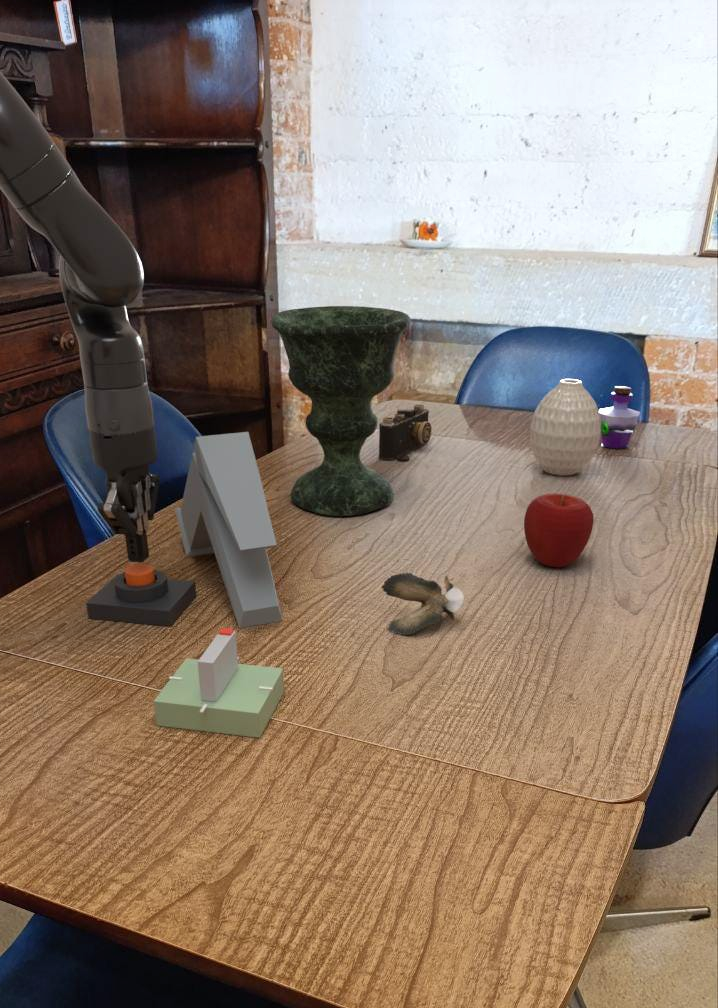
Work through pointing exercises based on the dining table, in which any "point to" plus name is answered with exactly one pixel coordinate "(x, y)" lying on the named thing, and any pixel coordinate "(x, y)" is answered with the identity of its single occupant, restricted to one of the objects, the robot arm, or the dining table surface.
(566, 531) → the apple
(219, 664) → the grey flat block
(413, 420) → the camera
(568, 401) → the vase
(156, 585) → the button box
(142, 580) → the button
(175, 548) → the dining table surface
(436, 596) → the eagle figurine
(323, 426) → the goblet
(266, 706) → the base
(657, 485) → the dining table surface
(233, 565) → the bracket
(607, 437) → the potion bottle
